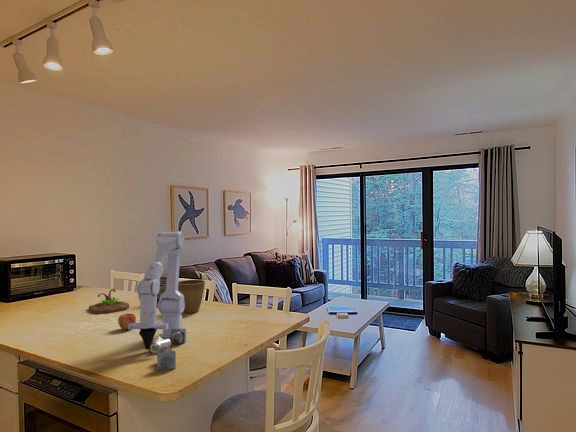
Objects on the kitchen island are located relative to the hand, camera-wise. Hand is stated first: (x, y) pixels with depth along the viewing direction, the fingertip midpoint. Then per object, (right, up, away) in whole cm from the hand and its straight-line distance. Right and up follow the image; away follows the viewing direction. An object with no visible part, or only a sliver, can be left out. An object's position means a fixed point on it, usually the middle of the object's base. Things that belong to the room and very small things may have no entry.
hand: (148, 348), depth 139 cm
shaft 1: (+11, -1, -13) cm, 17 cm away
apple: (-20, -2, +28) cm, 35 cm away
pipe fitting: (+4, -1, +2) cm, 5 cm away
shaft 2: (+8, -1, +9) cm, 12 cm away
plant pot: (0, -2, +61) cm, 61 cm away
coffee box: (-19, -2, +79) cm, 82 cm away
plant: (-46, -3, +67) cm, 81 cm away
